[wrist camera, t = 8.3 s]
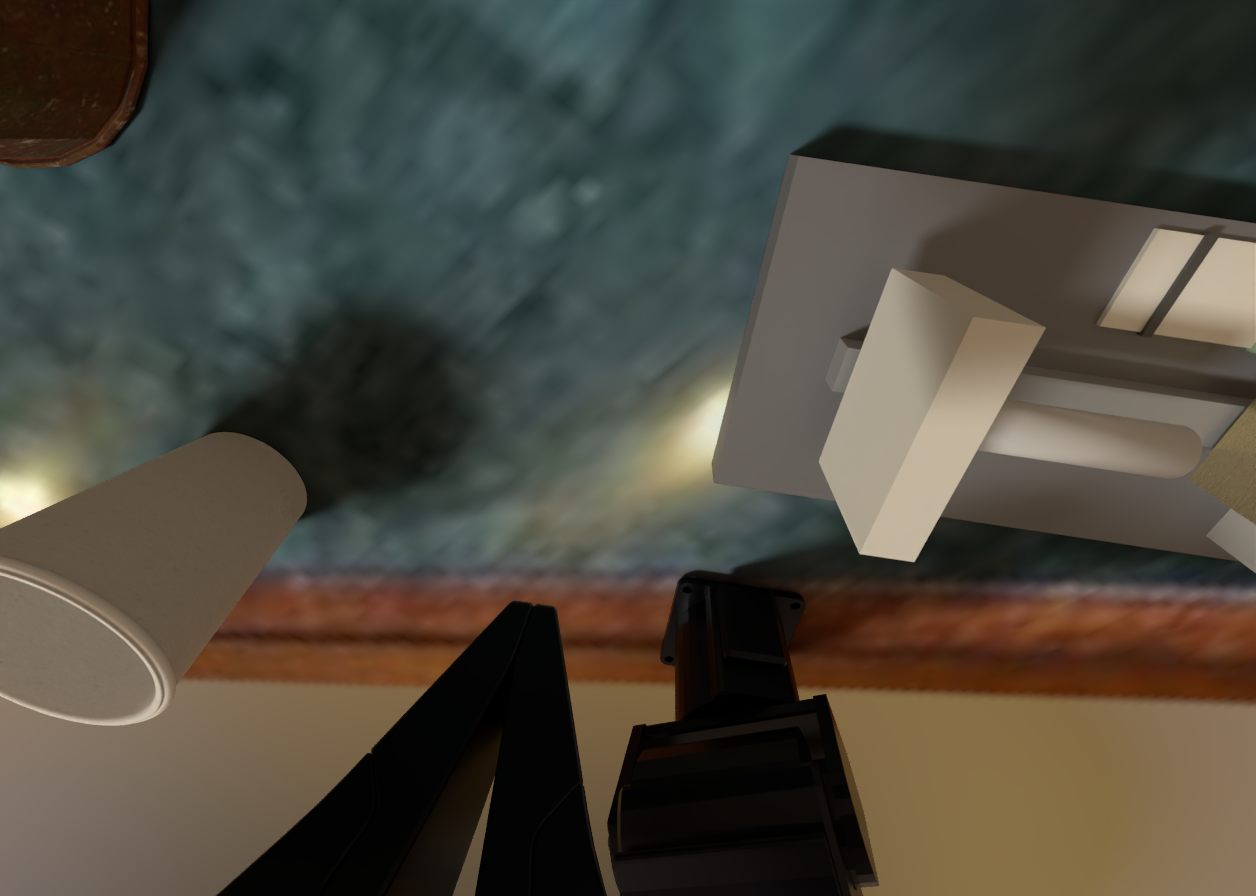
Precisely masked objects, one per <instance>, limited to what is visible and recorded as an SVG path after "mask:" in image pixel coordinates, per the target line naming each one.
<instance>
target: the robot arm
mask: <svg viewBox="0 0 1256 896" xmlns="http://www.w3.org/2000/svg"><path fill="white" fill-rule="evenodd" d="M686 586H689V588H685V587H686ZM792 603H795V604H792ZM804 609H805V602H804V598H803V596H801V595H800V594H797V593H791V592H784V591H778V590H771V589H764V588H758V587H751V586H744V585H738V584H731V583H724V582H718V581H711V580H704V579H698V578H691V577H684V578H681V579H680V580H679V581H678V583H677V587H676V591H675V595H674V599H673V603H672V607H671V611H670V615H669V620H668V624H667V628H666V632H665V636H664V640H663V644H662V648H661V654H660V660H661V662H662V663H664V664H666V665H672V666H675V721H674V722H667V723H661V724H655V725H649V726H646V724H642V725H635V726H633V729H632V733H631V737H630V740H629V744H628V747H627V750H626V754H625V758H624V762H623V765H622V769H621V773H620V776H619V780H618V784H617V787H616V791H615V795H614V798H613V802H612V806H611V810H610V814H609V818H608V823H607V824H608V826H607V827H608V833H609V837H608V846H609V850H610V856H611V863H612V869H613V873H614V877H615V881H616V884H617V887H618V889H619V892H620V896H863V894H862V890H861V887H873V886H879V882H878V877H877V872H876V867H875V863H874V858H873V853H872V849H871V844H870V839H869V834H868V830H867V825H866V821H865V815H864V811H863V808H862V804H861V800H860V797H859V793H858V790H857V787H856V783H855V780H854V776H853V773H852V770H851V766H850V762H849V759H848V756H847V753H846V750H845V747H844V744H843V741H842V738H841V736H840V733H839V730H838V727H837V724H836V721H835V719H834V716H833V713H832V710H831V707H830V705H829V702H828V699H827V696H826V694H823V695H817V696H813V699H807V700H801V701H800V700H799V696H798V691H797V687H796V682H795V677H794V673H793V668H792V664H791V659H790V655H789V650H788V645H789V643H790V641H791V638H792V636H793V634H794V632H795V629H796V627H797V625H798V622H799V620H800V618H801V616H802V613H803V611H804ZM494 776H495V779H494ZM493 779H494V785H493V791H492V797H491V803H490V809H489V815H488V821H487V827H486V833H485V839H484V844H483V850H482V857H481V862H480V868H479V874H478V880H477V886H476V893H475V896H607V894H606V891H605V887H604V883H603V879H602V875H601V871H600V867H599V863H598V859H597V855H596V851H595V847H594V842H593V836H592V832H591V826H590V821H589V815H588V810H587V802H586V796H585V790H584V786H583V779H582V771H581V765H580V758H579V752H578V745H577V739H576V733H575V726H574V719H573V713H572V706H571V700H570V693H569V687H568V680H567V673H566V667H565V660H564V654H563V647H562V641H561V634H560V628H559V621H558V615H557V609H556V608H555V607H554V606H549V605H542V604H536V605H535V606H534V605H533V604H532V603H529V602H522V601H512V602H511V603H509V604H508V605H507V607H506V608H505V609H504V610H503V611H502V612H501V613H500V614H499V615H498V616H497V617H496V618H495V619H494V620H493V621H492V622H491V623H490V624H489V626H488V627H487V628H486V629H485V630H484V631H483V632H482V633H481V634H480V635H479V636H478V637H477V638H476V639H475V640H474V641H473V642H472V643H471V644H470V646H469V647H468V648H467V649H466V650H465V651H464V652H463V653H462V654H461V655H460V656H459V657H458V658H457V659H456V660H455V661H454V662H453V663H452V665H451V666H450V667H449V668H448V669H447V670H446V671H445V672H444V673H443V674H442V675H441V676H440V677H439V678H438V679H437V680H436V681H435V682H434V684H433V685H432V686H431V687H430V688H429V689H428V690H427V691H426V692H425V693H424V694H423V695H422V696H421V697H420V698H419V699H418V700H417V702H415V704H414V705H413V706H412V707H411V708H410V709H409V710H408V711H407V712H406V713H405V714H404V715H403V716H402V717H401V718H400V719H399V721H397V723H396V724H395V725H394V726H393V727H392V728H391V729H390V730H389V731H388V732H387V733H386V734H385V735H384V736H383V737H382V738H381V739H380V741H379V742H378V743H377V744H376V745H375V746H374V747H373V748H372V749H371V753H367V754H366V755H365V756H364V757H363V758H362V759H361V760H360V761H359V762H358V763H357V764H356V766H355V767H354V768H353V769H352V770H351V771H350V772H349V773H348V774H347V775H346V776H345V777H344V778H343V779H342V780H341V781H340V782H339V783H338V784H337V785H336V786H335V787H334V788H333V789H332V790H331V791H330V792H329V793H328V794H327V795H326V796H325V797H324V798H323V799H322V800H321V801H320V802H319V803H318V804H317V805H316V806H315V807H314V808H313V809H312V810H311V811H309V812H308V814H306V815H305V816H304V817H303V818H302V819H301V820H300V821H299V822H298V823H296V825H294V826H293V827H292V828H291V829H290V830H289V831H288V832H287V833H286V834H285V835H284V836H282V837H281V838H280V839H279V840H278V841H277V842H276V843H274V844H273V845H272V846H271V847H270V848H269V849H268V850H267V851H266V852H264V853H263V854H262V855H261V856H260V857H259V858H258V859H257V860H255V861H254V862H253V863H252V864H251V865H250V866H249V867H247V868H246V869H245V870H244V871H243V872H242V873H241V874H240V875H238V876H237V877H236V878H235V879H234V880H233V881H232V882H231V883H230V884H228V885H227V886H226V887H225V888H224V889H223V890H221V891H220V892H219V893H218V894H217V895H216V896H453V893H454V890H455V887H456V884H457V881H458V878H459V875H460V873H461V870H462V867H463V864H464V862H465V859H466V856H467V853H468V850H469V847H470V845H471V842H472V839H473V836H474V833H475V830H476V828H477V825H478V822H479V819H480V816H481V813H482V810H483V808H484V805H485V802H486V799H487V796H488V793H489V791H490V788H491V785H492V782H493Z"/></svg>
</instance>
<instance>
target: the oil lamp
mask: <svg viewBox="0 0 1256 896" xmlns="http://www.w3.org/2000/svg"><path fill="white" fill-rule="evenodd" d="M147 66H148V0H0V164H4V165H8V166H13V167H17V168H39V167H57V166H70V165H72V164H74V163H76V162H78V161H80V160H82V159H84V158H86V157H88V156H91V155H93V154H95V153H97V152H99V151H101V150H103V149H105V148H106V147H107V146H108V145H109V143H110V142H111V141H112V140H113V138H114V137H115V136H116V135H117V134H118V132H119V131H120V130H121V129H122V127H123V126H124V125H125V124H126V122H127V121H128V120H129V119H130V117H131V116H132V115H133V113H134V110H135V107H136V103H137V100H138V97H139V93H140V90H141V87H142V83H143V80H144V76H145V73H146V70H147Z"/></svg>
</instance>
